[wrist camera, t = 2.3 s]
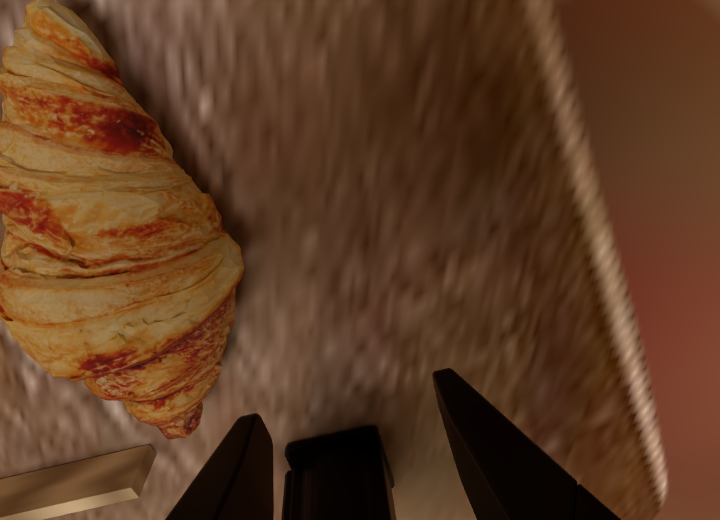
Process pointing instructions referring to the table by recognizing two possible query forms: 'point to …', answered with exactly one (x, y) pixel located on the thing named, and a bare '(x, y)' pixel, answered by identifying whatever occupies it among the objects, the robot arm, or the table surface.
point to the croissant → (106, 232)
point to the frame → (76, 485)
